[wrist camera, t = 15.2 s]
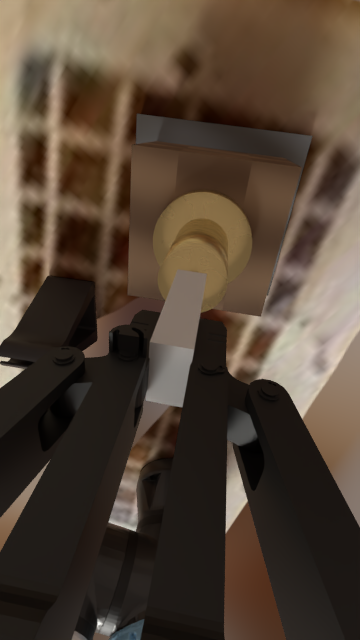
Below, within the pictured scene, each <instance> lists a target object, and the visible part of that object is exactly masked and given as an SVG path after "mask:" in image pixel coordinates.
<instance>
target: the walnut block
mask: <svg viewBox="0 0 360 640" xmlns="http://www.w3.org/2000/svg"><path fill="white" fill-rule="evenodd" d="M311 139H312V136H308V135H301V134H293V133H285V132H277V131H269V130H261V129H253V128H246V127H238V126H230V125H222V124H214V123H206V122H199V121H191V120H183V119H175V118H167V117H159V116H151V115H144V114H137V126H136V144H134V145H132V157H131V192H130V227H129V261H128V295H131V296H137V297H143V298H149V299H156V300H162V301H165V299H164V298H163V296H162V295H161V293H160V290H159V287H158V272H159V269H160V266H159V264H158V262H157V260H156V257H155V254H154V249H153V234H154V229H155V226H156V223H157V221H158V219H159V217H160V215H161V214H162V213H163V211H164V210H165V209H166V208H167V206H168V205H169V204H170V203H171V202H172V201H173V200H175V199H176V198H177V197H179V196H181V195H183V194H185V193H187V192H190V191H194V190H203V189H204V190H213V191H217V192H220V193H223V194H225V195H227V196H229V197H230V198H232V199H233V200H234V201H235V202H236V203H237V204H238V205H239V206H240V207H241V208H242V209H243V211H244V213H245V214H246V216H247V219H248V221H249V224H250V228H251V233H252V250H251V255H250V258H249V261H248V263H247V265H246V267H245V268H244V270H243V271H242V272H241V273H240V275H239V276H238V277H237V278H236V279H234V280H233V281H232V282H230V283H229V284H227V289H226V293H225V295H224V297H223V298H222V300H221V301H220V302H219V303H218V304H217V305H216V306H215V307H214V308H212V309H217V310H224V311H230V312H236V313H242V314H248V315H254V316H261V313H262V310H263V306H264V302H265V299H266V295H267V296H268V293H269V290H270V286H271V282H272V279H273V275H274V272H275V268H276V265H277V261H278V257H279V254H280V250H281V247H282V243H283V239H284V236H285V232H286V229H287V225H288V222H289V218H290V214H291V211H292V207H293V204H294V200H295V196H296V193H297V189H298V186H299V182H300V179H301V175H302V171H303V168H304V164H305V161H306V157H307V154H308V150H309V146H310V143H311Z"/></svg>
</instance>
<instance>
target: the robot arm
mask: <svg viewBox="0 0 360 640" xmlns="http://www.w3.org/2000/svg"><path fill="white" fill-rule="evenodd" d="M206 277H207V274H205V273H198V272H192V271H185V270H179V269H178V270H177V272H176V275H175V278H174V280H173V283H172V285H171V288H170V291H169V293H168V296H167V298H166V301H165V304H164V307H163V309H162V311H161V313H159V312H153V311H147V310H142V311H140V312H139V313H137V314H136V315H135V316H134V318H133V320H132V322H131V324H130V325H121V326H117V327H115V328H113V329H112V330H111V331H110V332H109V353H108V355H106V356H103V357H94V358H85V356H84V354H83V352H82V351H81V350H79V349H78V348H75V347H70V346H67V347H59V348H55V349H53V350H51V351H49V352H47V353H46V354H45V355H43V356H42V357H41V358H39V359H38V360H37V361H36V362H34V363H33V364H32V365H30V366H29V367H28V368H26V369H25V370H24V371H22V372H21V373H20V374H18V375H17V376H16V377H15V378H13V379H12V380H11V381H9V382H8V383H7V384H5V385H4V386H3V387H1V388H0V517H1V516H2V515H3V514H4V513H5V512H6V510H7V509H8V508H9V507H10V506H11V505H12V503H13V502H14V501H15V500H16V499H17V498H18V496H19V495H20V494H21V493H22V492H23V491H24V489H25V488H26V487H27V486H28V485H29V484H30V482H31V481H32V480H33V479H34V478H35V477H36V476H37V474H38V473H39V472H40V471H41V470H42V469H43V467H44V466H45V465H46V464H47V463H48V462H49V460H50V459H51V460H50V462H49V464H48V465H47V467H46V469H45V471H44V473H43V475H42V476H41V478H40V480H39V482H38V484H37V485H36V487H35V489H34V491H33V493H32V495H31V497H30V498H29V500H28V502H27V504H26V506H25V508H24V509H23V511H22V513H21V515H20V517H19V519H18V520H17V522H16V524H15V526H14V528H13V530H12V532H11V533H10V535H9V537H8V539H7V541H6V542H5V544H4V546H3V548H2V550H1V552H0V640H93V636H94V632H96V633H101V634H104V635H107V636H109V637H110V638H109V640H225V639H224V586H225V585H224V583H225V529H226V472H227V440H228V441H230V442H233V449H234V452H235V456H236V460H237V463H238V467H239V470H240V474H241V478H242V481H243V485H244V489H245V492H246V496H247V499H248V503H249V506H250V510H251V514H252V517H253V521H254V525H255V528H256V532H257V535H258V539H259V543H260V546H261V550H262V553H263V557H264V561H265V564H266V568H267V572H268V575H269V579H270V582H271V586H272V589H273V593H274V597H275V600H276V604H277V608H278V611H279V614H280V618H281V622H282V626H283V629H284V632H285V636H286V640H360V527H359V525H358V523H357V521H356V520H355V518H354V516H353V514H352V512H351V510H350V508H349V507H348V505H347V503H346V501H345V499H344V497H343V495H342V493H341V491H340V490H339V488H338V486H337V484H336V482H335V480H334V478H333V477H332V475H331V473H330V471H329V469H328V467H327V465H326V463H325V461H324V459H323V458H322V456H321V454H320V452H319V450H318V448H317V446H316V444H315V442H314V441H313V439H312V437H311V435H310V433H309V431H308V429H307V428H306V426H305V424H304V422H303V420H302V418H301V416H300V414H299V412H298V411H297V409H296V407H295V405H294V403H293V401H292V399H291V397H290V395H289V394H288V392H287V391H286V390H285V388H284V387H282V386H281V385H279V384H278V383H276V382H273V381H271V380H265V379H260V380H255V381H253V382H251V383H250V385H248V384H245V383H243V382H241V381H239V380H237V379H235V378H234V377H233V376H232V375H231V374H230V373H229V372H228V369H227V367H226V337H227V329H226V327H225V326H224V324H223V323H222V322H219V321H213V320H207V319H201V318H200V313H201V307H202V301H203V295H204V289H205V283H206ZM145 395H146V401H150V402H155V403H160V404H166V405H171V406H177V407H182V413H181V419H180V424H179V430H178V435H177V441H176V446H175V452H174V458H170V459H161V460H156V461H154V462H151V463H149V464H148V465H146V466H145V467H144V468H143V469H142V471H141V472H140V475H139V479H138V483H137V489H136V491H137V508H138V525H137V529H136V532H135V531H132V530H129V529H126V528H123V527H120V526H117V525H114V524H111V523H109V522H108V521H109V518H110V515H111V512H112V508H113V505H114V502H115V499H116V495H117V492H118V489H119V486H120V483H121V479H122V476H123V473H124V470H125V467H126V463H127V460H128V457H129V454H130V450H131V447H132V444H133V441H134V437H135V434H136V431H137V428H138V425H139V421H140V418H141V415H142V411H143V401H144V398H145Z"/></svg>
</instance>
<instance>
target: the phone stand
mask: <svg viewBox="0 0 360 640" xmlns="http://www.w3.org/2000/svg"><path fill="white" fill-rule="evenodd" d="M96 341H97V320H96V303H95V285H94V282H90V281H82V280H75V279H68V278H60V277H53V276H47V278H46V280H45V281H44V283H43V285H42V286H41V288H40V290H39V291H38V293H37V294H36V296H35V298H34V299H33V301H32V303H31V304H30V306H29V308H28V309H27V311H26V312H25V314H24V316H23V317H22V319H21V321H20V322H19V324H18V326H17V327H16V329H15V330H14V332H13V333H12V334H11V335H10V336H9V337H8V338H6V339H5V340H4V341H3V342H2V344H1V345H0V356H1V357H8V358H11V359H10V360H9V361H8V362H6V361H1V362H0V364H1V365H4V366H10V367H17V368H23V369H26V368H28V367H29V366H30V365H32V364H33V363H34V362H36V361H37V360H38V359H39V358H41V357H42V356H43V355H45V354H46V353H47V352H49V351H51V350H53V349H55V348H59V347H67V346H70V347H75V348H78V349H79V350H81V351H83V350H85V349H86V348H88V347H89V346H90V345H92V344H93V343H94V342H96Z"/></svg>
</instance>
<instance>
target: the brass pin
mask: <svg viewBox="0 0 360 640" xmlns="http://www.w3.org/2000/svg"><path fill="white" fill-rule="evenodd" d="M153 249H154V254H155V257H156V260H157V262H158V264H159V266H160V269H159V272H158V287H159V290H160V293H161V295H162V296H163V298H164V299H165V301H166V298H167V296H168V293H169V291H170V288H171V285H172V283H173V280H174V278H175V275H176V272H177V270H178V269H179V270H185V271H192V272H198V273H205V274H207V277H206V283H205V289H204V295H203V301H202V307H201V313H202V312H205V311H208V310H210V309H212V308H214V307H215V306H216V305H217V304H218V303H219V302H220V301H221V300H222V298H223V297H224V295H225V293H226V289H227V284H229V283H230V282H232V281H233V280H234V279H236V278H237V277H238V276H239V275H240V273H241V272H242V271H243V270H244V268H245V267H246V265H247V263H248V261H249V258H250V255H251V250H252V233H251V228H250V224H249V221H248V219H247V216H246V214H245V213H244V211H243V209H242V208H241V207H240V206H239V205H238V204H237V203H236V202H235V201H234V200H233V199H232V198H230V197H229V196H227V195H225V194H223V193H220V192H217V191H213V190H204V189H203V190H194V191H190V192H187V193H185V194H183V195H181V196H179V197H177V198H176V199H175V200H173V201H172V202H171V203H170V204H169V205H168V206H167V208H166V209H165V210H164V211H163V213H162V214H161V215H160V217H159V219H158V221H157V223H156V226H155V229H154V234H153Z"/></svg>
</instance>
